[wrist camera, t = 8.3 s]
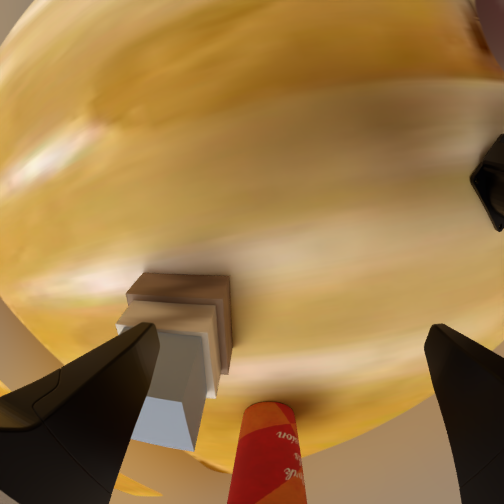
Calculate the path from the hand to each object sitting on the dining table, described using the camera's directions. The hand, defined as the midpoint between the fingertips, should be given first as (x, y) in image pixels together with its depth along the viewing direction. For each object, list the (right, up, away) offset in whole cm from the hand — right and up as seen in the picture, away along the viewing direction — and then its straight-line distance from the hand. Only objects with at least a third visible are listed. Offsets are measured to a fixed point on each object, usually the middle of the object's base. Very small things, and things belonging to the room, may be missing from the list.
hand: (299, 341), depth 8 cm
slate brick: (-7, -4, +9) cm, 12 cm away
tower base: (-7, -2, +15) cm, 16 cm away
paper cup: (0, -15, +20) cm, 25 cm away
